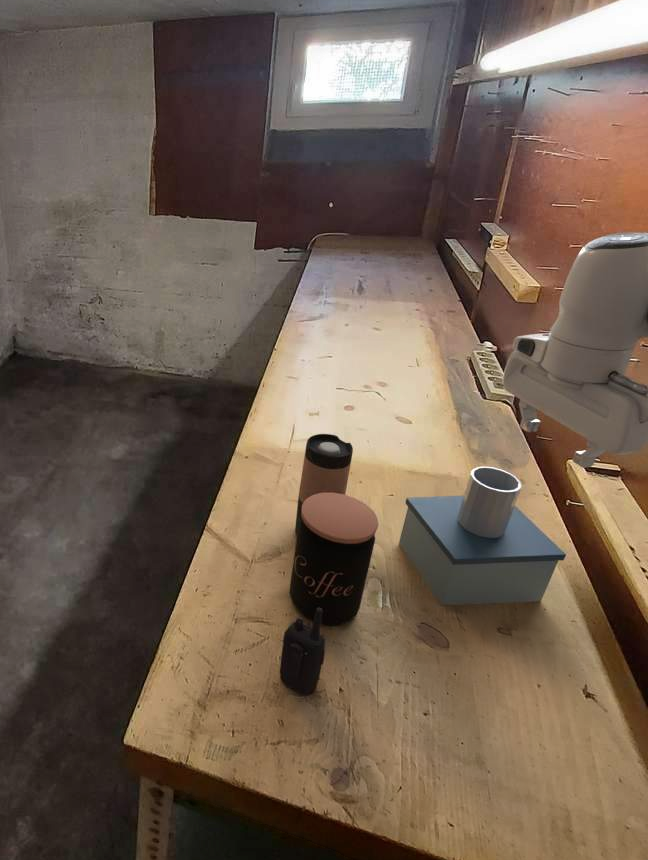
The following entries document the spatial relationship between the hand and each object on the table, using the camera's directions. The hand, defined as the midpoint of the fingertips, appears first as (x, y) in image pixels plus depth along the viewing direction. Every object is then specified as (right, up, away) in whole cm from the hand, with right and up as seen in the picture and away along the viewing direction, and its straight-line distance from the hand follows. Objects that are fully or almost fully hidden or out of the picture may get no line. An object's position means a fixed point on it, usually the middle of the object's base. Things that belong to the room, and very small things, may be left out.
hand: (553, 446), depth 81 cm
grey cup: (-4, -14, +10) cm, 18 cm away
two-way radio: (-38, -33, -3) cm, 51 cm away
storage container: (-3, -23, +15) cm, 28 cm away
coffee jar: (-29, -27, +10) cm, 41 cm away
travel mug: (-26, -19, +24) cm, 40 cm away
